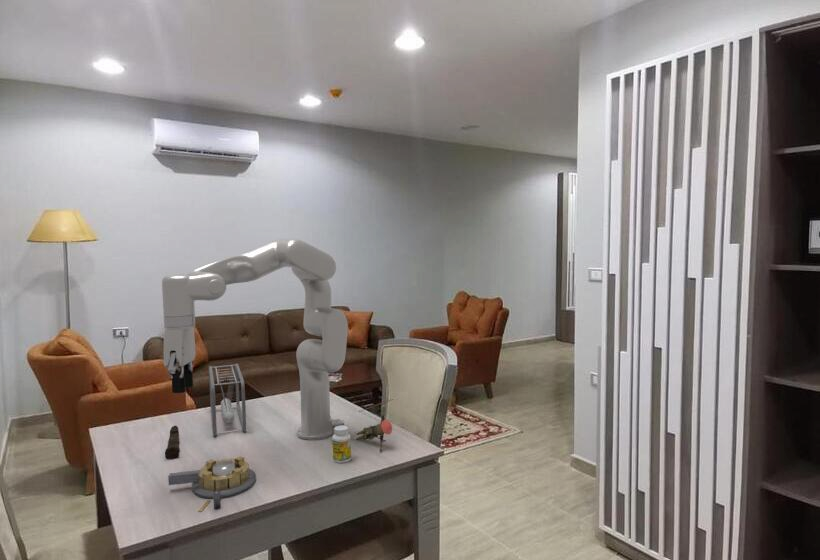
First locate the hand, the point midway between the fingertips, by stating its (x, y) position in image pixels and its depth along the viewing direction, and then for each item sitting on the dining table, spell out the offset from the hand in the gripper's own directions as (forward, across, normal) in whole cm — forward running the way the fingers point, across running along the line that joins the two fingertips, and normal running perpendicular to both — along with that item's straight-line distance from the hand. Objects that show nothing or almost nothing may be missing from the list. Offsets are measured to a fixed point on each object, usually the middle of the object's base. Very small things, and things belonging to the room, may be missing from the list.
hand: (182, 388), depth 138 cm
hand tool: (+26, -23, -14) cm, 37 cm away
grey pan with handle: (+24, +3, +7) cm, 25 cm away
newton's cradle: (+26, -46, -4) cm, 53 cm away
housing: (+25, +5, +11) cm, 28 cm away
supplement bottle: (+26, -11, +41) cm, 49 cm away
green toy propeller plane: (+26, -24, +49) cm, 61 cm away
